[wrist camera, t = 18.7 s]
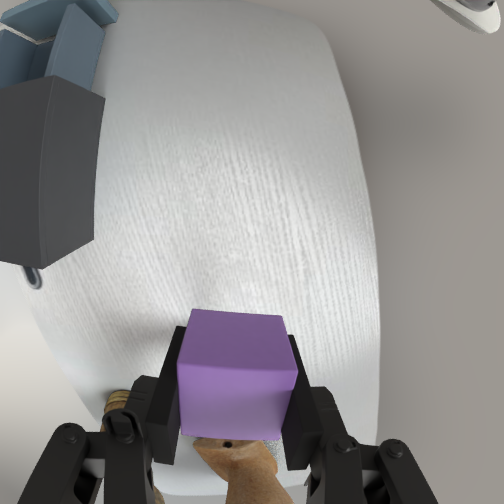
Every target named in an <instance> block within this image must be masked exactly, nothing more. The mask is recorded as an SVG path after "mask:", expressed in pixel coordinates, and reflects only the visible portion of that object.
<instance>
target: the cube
mask: <svg viewBox="0 0 504 504" xmlns="http://www.w3.org/2000/svg"><path fill="white" fill-rule="evenodd" d="M297 374H298V369H297V365H296V362H295V359H294V355H293V352H292V348H291V345H290V342H289V338H288V335H287V331H286V328H285V325H284V321H283V318H282V316H279V315H263V314H249V313H236V312H224V311H213V310H202V309H192V311H191V314H190V318H189V321H188V325H187V328H186V332H185V335H184V339H183V342H182V346H181V349H180V353H179V356H178V360H177V381H178V398H179V413H180V427H181V434H182V435H187V436H196V437H206V438H218V439H234V440H279V438H280V435H281V429H282V425H283V422H284V419H285V415H286V412H287V408H288V405H289V401H290V397H291V394H292V390H293V389H294V386H295V382H296V378H297Z"/></svg>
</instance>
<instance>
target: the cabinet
mask: <svg viewBox="0 0 504 504" xmlns="http://www.w3.org/2000/svg"><path fill="white" fill-rule="evenodd" d="M104 104H105V98H103V97H101V96H99V95H97V94H95V93H93V92H91V91H89V90H87V89H85V88H83V87H81V86H78V85H76V84H74V83H72V82H70V81H68V80H66V79H63V78H61V77H59V76H56V75H51V76H46V77H42V78H38V79H34V80H30V81H26V82H22V83H18V84H15V85H11V86H8V87H5V88H2V89H0V261H3V262H7V263H12V264H17V265H22V266H27V267H32V268H37V269H44V268H46V267H47V266H49V265H51V264H53V263H54V262H56V261H58V260H59V259H61V258H63V257H64V256H66V255H68V254H69V253H71V252H73V251H75V250H76V249H78V248H80V247H82V246H83V245H85V244H87V243H89V242H90V241H92V240H94V195H95V178H96V165H97V154H98V145H99V137H100V129H101V122H102V116H103V110H104Z"/></svg>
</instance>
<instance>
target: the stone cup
mask: <svg viewBox="0 0 504 504" xmlns="http://www.w3.org/2000/svg"><path fill="white" fill-rule="evenodd" d="M193 447H194V448H195V449H196V451H197V452H198V453H199V455H200V456H201V457H202V458H203V460H204V461H205V462H206V463H208V465H209V466H210V467H211V468H212V469H213V470H214V471H215V472H216V473H217V474H218V475H219V476H220V477H221V478H222V479H224V480H225V481H227V482H228V491H227V498H226V504H294V502H293V501H292V499H291V497H290V496H289V494H288V493H287V492H286V491H285V490H284V488H283V487H282V485H281V484H280V483H279V481H278V480H277V478H276V476H275V475H276V474H277V472H278V467H277V462H276V460H275V459H274V457H273V456H272V454H271V453H270V451H269V450H268V449H267V447H266V446H265V444H264V443H263V441H262V440H234V439H218V438H206V437H205V438H202V439H199V440H196V441H194V442H193Z"/></svg>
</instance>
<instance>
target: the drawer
mask: <svg viewBox="0 0 504 504" xmlns="http://www.w3.org/2000/svg"><path fill="white" fill-rule="evenodd" d="M118 15H119V14H118V13H117V11H116V10H115V9H114V8H113V7H112V5H111V4H110V3H109V2H108V1H107V0H29V1H27V2H25V3H22V4H20V5H18V6H16V7H14V8H12V9H10V10H8V11H6V12H4V13H3V14H2V17H1V19H0V22H1V23H3V24H5V25H7V26H9V27H11V28H13V29H15V30H17V31H19V32H21V33H23V34H25V35H27V36H29V37H31V38H32V39H34V40H36V41H37V40H40V39H44V38H47V37H50V36H54V35H56V38H55V40H53V41H49V42H46V43H42V44H39V45H36V44H34V43H32V42H30V41H28V40H26V39H24V38H22V37H20V36H18V35H16V34H14V33H12V32H10V31H8V30H6V29H3V30H1V31H0V89H2V88H5V87H8V86H11V85H15V84H18V83H22V82H26V81H30V80H34V79H38V78H42V77H46V76H51V75H56V76H59V77H61V78H63V79H66V80H68V81H70V82H72V83H74V84H76V85H78V86H81V87H83V88H85V89H87V90H89V91H91V87H92V82H93V78H94V73H95V69H96V65H97V61H98V57H99V53H100V50H101V46H102V43H103V39H104V36H105V33H106V32H105V31H104V30H103V29H102V28H101V27H100V26H99V25H103V24H109V23H116V20H117V17H118Z"/></svg>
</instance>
